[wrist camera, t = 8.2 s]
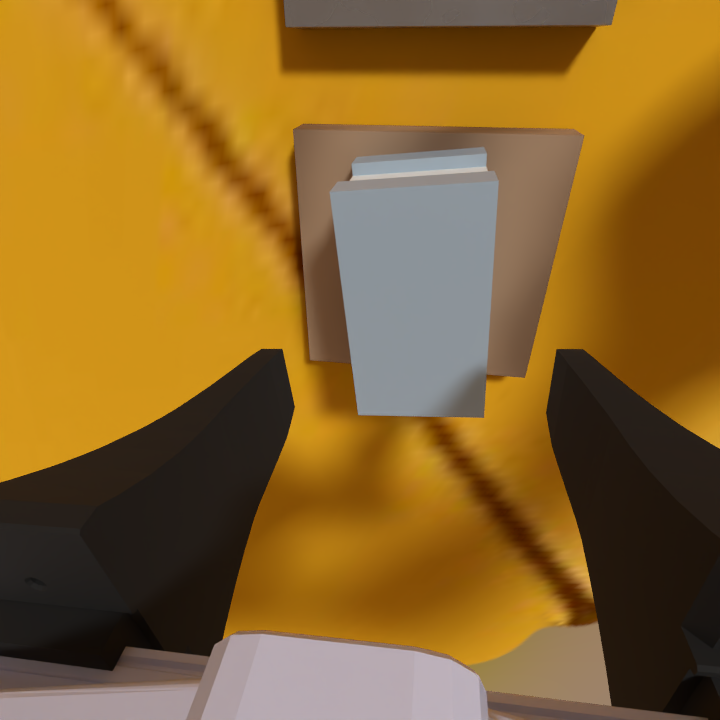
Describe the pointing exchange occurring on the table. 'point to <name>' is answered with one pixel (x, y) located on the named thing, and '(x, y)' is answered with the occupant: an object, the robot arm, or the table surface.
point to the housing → (418, 279)
